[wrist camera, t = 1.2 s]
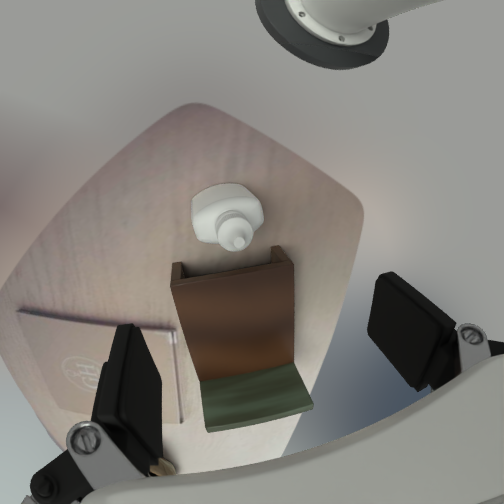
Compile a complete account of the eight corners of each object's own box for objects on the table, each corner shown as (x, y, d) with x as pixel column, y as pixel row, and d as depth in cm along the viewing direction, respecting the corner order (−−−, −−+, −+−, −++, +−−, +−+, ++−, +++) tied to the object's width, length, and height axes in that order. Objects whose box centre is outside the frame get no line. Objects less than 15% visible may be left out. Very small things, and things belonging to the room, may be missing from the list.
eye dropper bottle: (197, 173, 26) (202, 198, 15) (251, 186, 28) (291, 218, 17) (187, 215, 27) (186, 266, 17) (239, 225, 29) (270, 280, 18)
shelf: (172, 263, 29) (166, 334, 18) (278, 244, 31) (325, 303, 20) (198, 360, 35) (207, 433, 25) (282, 343, 37) (313, 409, 27)
